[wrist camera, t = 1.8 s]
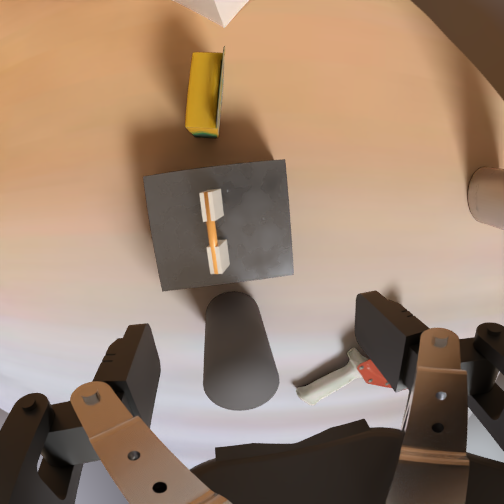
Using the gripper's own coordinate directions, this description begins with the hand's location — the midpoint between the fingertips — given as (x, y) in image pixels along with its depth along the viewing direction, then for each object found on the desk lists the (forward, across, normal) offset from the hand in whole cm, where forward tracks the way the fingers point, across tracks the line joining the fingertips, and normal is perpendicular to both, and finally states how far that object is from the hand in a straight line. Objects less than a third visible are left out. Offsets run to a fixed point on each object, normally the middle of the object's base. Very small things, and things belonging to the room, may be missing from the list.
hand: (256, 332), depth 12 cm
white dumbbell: (+21, +1, 0) cm, 21 cm away
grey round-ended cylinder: (+27, +1, +13) cm, 30 cm away
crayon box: (+27, +1, -13) cm, 30 cm away
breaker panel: (+27, +1, 0) cm, 27 cm away
